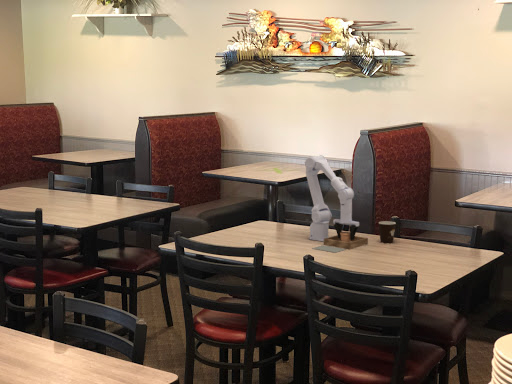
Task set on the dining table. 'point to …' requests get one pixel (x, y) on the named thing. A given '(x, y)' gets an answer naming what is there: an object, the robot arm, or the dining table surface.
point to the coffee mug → (387, 231)
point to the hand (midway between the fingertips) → (345, 238)
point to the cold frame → (338, 243)
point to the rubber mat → (329, 249)
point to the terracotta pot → (345, 236)
